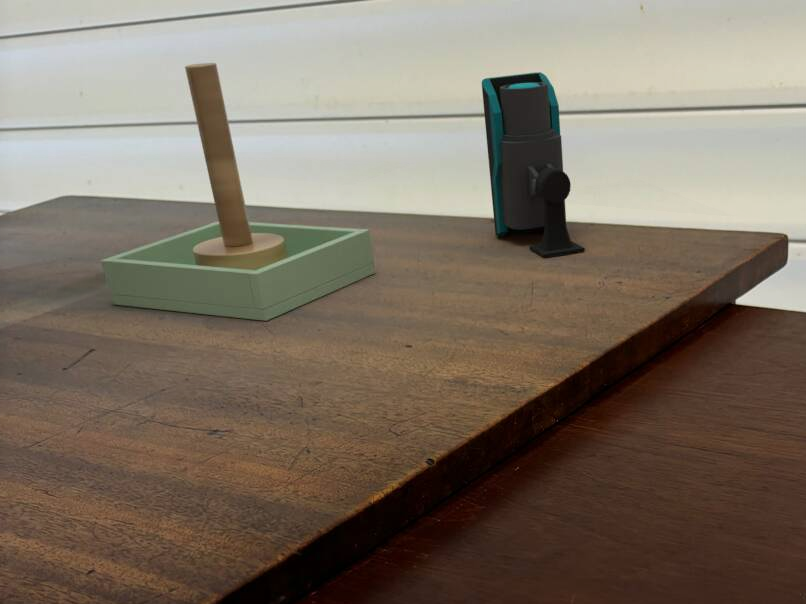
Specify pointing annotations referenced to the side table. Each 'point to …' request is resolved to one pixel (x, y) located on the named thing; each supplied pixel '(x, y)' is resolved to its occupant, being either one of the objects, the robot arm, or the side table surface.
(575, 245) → the surveillance camera
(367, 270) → the tray
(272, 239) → the peg on round base
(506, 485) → the side table surface
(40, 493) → the side table surface
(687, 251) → the side table surface
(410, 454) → the side table surface
